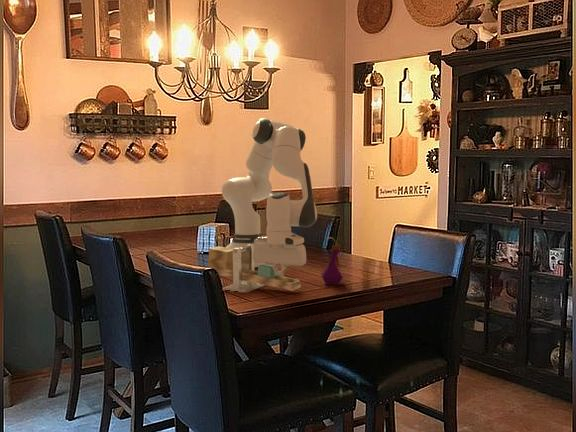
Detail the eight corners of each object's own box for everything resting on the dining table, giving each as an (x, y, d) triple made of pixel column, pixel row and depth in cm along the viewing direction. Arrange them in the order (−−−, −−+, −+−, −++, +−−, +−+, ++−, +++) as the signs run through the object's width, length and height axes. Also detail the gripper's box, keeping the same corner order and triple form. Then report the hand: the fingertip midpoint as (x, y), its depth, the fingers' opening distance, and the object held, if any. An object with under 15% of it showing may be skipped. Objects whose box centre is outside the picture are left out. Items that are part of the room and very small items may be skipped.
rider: (257, 279, 239) (258, 265, 238) (262, 277, 243) (263, 263, 242) (269, 281, 237) (270, 268, 236) (274, 279, 240) (275, 266, 240)
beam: (207, 272, 248) (209, 247, 246) (217, 269, 253) (218, 244, 252) (292, 290, 232) (294, 263, 230) (300, 287, 237) (302, 260, 236)
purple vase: (340, 282, 253) (340, 235, 251) (342, 286, 245) (342, 238, 243) (321, 282, 252) (320, 236, 251) (322, 286, 245) (322, 238, 243)
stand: (222, 290, 241) (221, 248, 239) (242, 283, 253) (242, 243, 252) (246, 292, 236) (245, 250, 235) (265, 285, 248) (264, 244, 247)
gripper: (249, 237, 238) (250, 275, 239) (300, 240, 228) (300, 280, 229) (258, 235, 243) (259, 272, 245) (308, 238, 234) (308, 276, 235)
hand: (279, 276), depth 237 cm, fingers closed
